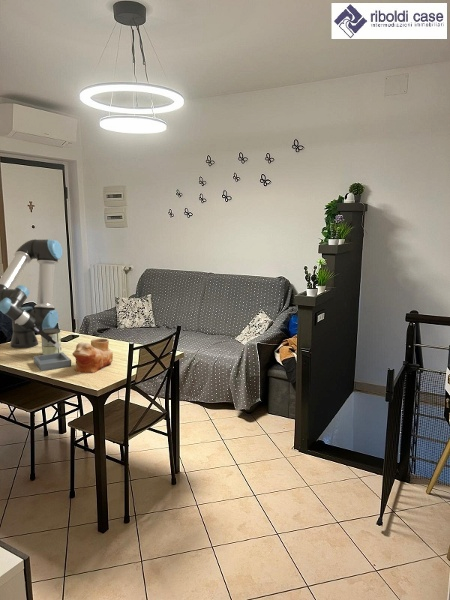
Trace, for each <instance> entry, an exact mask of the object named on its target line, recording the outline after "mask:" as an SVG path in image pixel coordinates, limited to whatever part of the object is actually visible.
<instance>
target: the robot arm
mask: <svg viewBox="0 0 450 600" xmlns="http://www.w3.org/2000/svg"><path fill="white" fill-rule="evenodd" d="M62 256H63V247H62V245H61V243H60V242H59V241H58V240H57V239H29V240H27V241H25V242H24V243H23V244H22V245H20V246H19V247H18V248H17V250H16V251H15V252H14V257H13V258H12V260H11V262H10V264H8V266H7V268H6V270H4V272H3V274H2V275H1V277H0V312H1V313H2V314H4V315H5V316H7V317H8V318H10V319H11V323H12V336H11V341H10V347H11V348H14V349H25V348H26V349H27V348H31V347H35V346H37V345H39V342H38V341H39V340H38V338H37V336H36V334H37V335H39V336H42V337H43V338H45V339H46V340H47V341H48V343H49V342H50V343H51V344H53V345H54V346H55V347H57V348H59V347H60V346H61V347H62V343H61V344H60V343H58V342H57V341H56V340H54V339H53V338H52V337H50V336H49V335H47V334H46V333H45V332H44V331H43V330H44V329H50V328H56V326H57V324H58V321H59V312H58V311H57V310H55V309H56V307H55V306H54V304H53V299H54V285H55V271H56V270H55V267H56V265H57V264H58V263H59V260H60V259H62V258H63V257H62ZM35 259H36V261H37V263H38V264H39V267H38V280H37V281H38V282H37V299H36V301H37V302H36V304H35V305H34V306H23V307H22V305H24V303H25V302H26V301H27V299H28V297H29V295H30V290H29V288H28V287H26V286H25V285H22V284H20V285H17V286H16V287H15V288H14V289H13V286H14V284H15V283H16V282H17V279H18V278H19V277H20V275H21V274H22V272H23V271H24V269H25V267H26V266H27V265H28V264H30V262H32V261H33V260H35ZM35 333H36V334H35Z"/></svg>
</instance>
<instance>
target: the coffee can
mask: <svg viewBox="0 0 450 600" xmlns="http://www.w3.org/2000/svg"><path fill="white" fill-rule="evenodd" d="M43 331H44V332H45V333H46V334H47V335H49V336H50V337H52V338H53V339H54V340H56V341H57V342H58V343H60V344H61V346H60V347H59V348H57V347H55V346H54V345H53V344H51V343H50V342H49V343H48V341H47V340H46V339H45V338H43V337H42V336H41V335H40V336H41V337H40V338H41V350H42V351H41V352H42V353H41V354H42V355H47V354H54V353H60V352H62V342H61V341H62V339H61V338H62V336H61V335H62V334H61V328H56V327H54V328H50V329H43Z"/></svg>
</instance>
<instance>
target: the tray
mask: <svg viewBox="0 0 450 600" xmlns="http://www.w3.org/2000/svg"><path fill="white" fill-rule="evenodd" d="M33 363H34V364H35V366H36V367H37V369H38V370H39V371H40V372H46V371H52V370H58V369H64V368H70V367H72V359H70V357H68V356H67V355H66V354H65V353H64V352H63V351H61V352H60V353H54V354H47V355H43V354H39V355H34V356H33Z"/></svg>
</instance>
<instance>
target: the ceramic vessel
mask: <svg viewBox="0 0 450 600" xmlns="http://www.w3.org/2000/svg"><path fill="white" fill-rule="evenodd" d="M109 340H110V339H108V338H96V339H95V338H94V339H91V340H90V343H87V342H78V343H77V344H76V345H75V350H74V351H73V352H72V356H73V357H74V359H75V367H74V371H75V372H79V373H84V374H85V373H87V374H94V373H97V372H99V371H100V370H102V369H104V368H107V367H110V366H111V365H112V362H113V359H114V358H113V357H114V356H113V355H114V353H113V351H112V350H111V349H110V348H109V345H110V344H109Z"/></svg>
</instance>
